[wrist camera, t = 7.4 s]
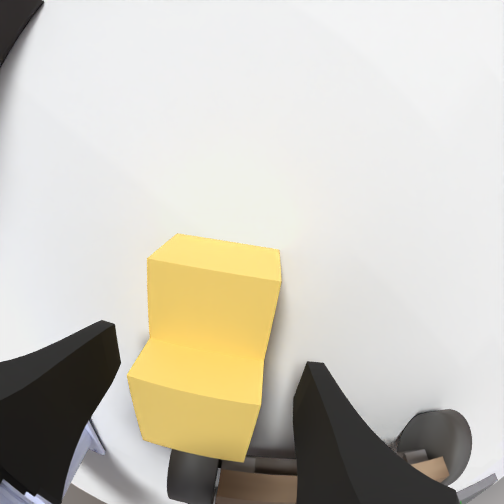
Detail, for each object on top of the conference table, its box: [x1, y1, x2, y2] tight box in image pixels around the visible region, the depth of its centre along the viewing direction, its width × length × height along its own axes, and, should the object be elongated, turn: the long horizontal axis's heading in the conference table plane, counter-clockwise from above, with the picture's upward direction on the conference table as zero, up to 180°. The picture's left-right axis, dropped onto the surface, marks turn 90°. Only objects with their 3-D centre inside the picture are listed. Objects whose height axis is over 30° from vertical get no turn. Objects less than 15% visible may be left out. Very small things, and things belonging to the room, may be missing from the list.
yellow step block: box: [127, 234, 281, 463], centre depth 9 cm, size 4×7×5 cm, turn 172°
